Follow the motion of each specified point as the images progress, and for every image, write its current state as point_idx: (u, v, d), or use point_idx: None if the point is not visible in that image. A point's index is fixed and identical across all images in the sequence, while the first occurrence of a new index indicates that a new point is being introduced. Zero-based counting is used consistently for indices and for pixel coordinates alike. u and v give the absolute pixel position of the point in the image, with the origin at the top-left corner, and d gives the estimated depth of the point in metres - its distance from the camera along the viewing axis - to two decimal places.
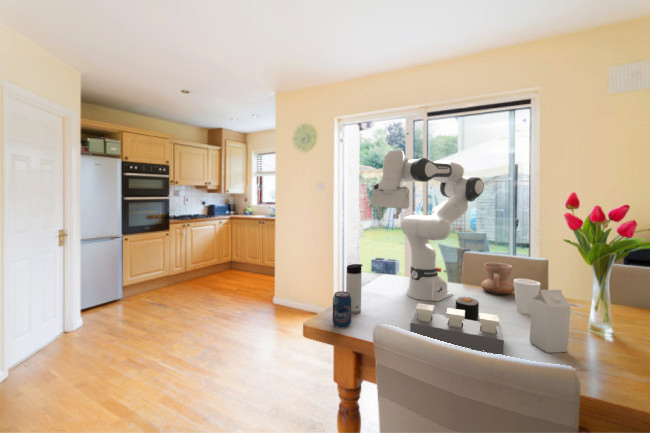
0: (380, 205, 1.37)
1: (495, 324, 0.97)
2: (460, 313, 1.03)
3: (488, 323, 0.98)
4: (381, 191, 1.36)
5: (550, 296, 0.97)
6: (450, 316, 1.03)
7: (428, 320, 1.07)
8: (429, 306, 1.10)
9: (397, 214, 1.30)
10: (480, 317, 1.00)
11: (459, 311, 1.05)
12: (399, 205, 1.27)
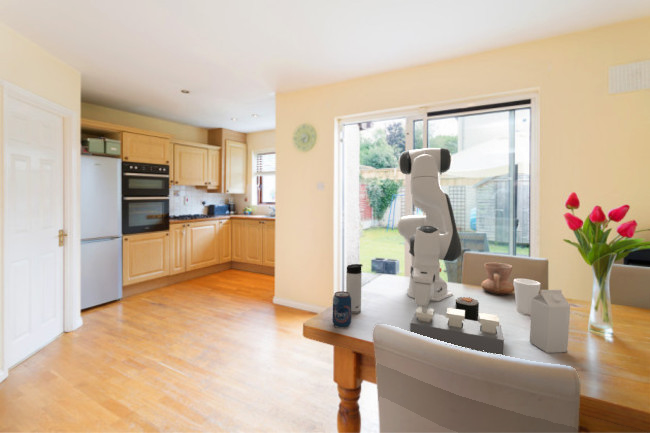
0: None
1: (495, 324, 0.97)
2: (460, 313, 1.03)
3: (488, 323, 0.98)
4: None
5: (550, 296, 0.97)
6: (450, 316, 1.03)
7: None
8: (429, 310, 1.10)
9: None
10: (480, 317, 1.00)
11: (459, 311, 1.05)
12: (433, 290, 1.15)
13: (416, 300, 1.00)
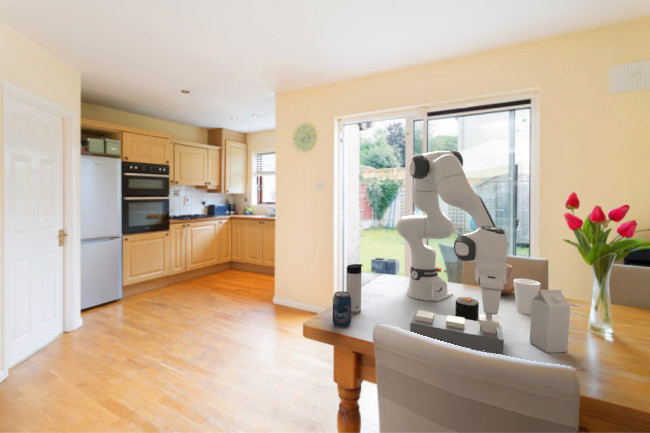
0: None
1: (495, 325, 0.97)
2: (459, 321, 1.03)
3: (488, 324, 0.98)
4: None
5: (550, 296, 0.97)
6: (450, 324, 1.03)
7: None
8: (429, 313, 1.10)
9: None
10: (480, 318, 1.00)
11: (458, 318, 1.05)
12: None
13: (485, 307, 0.91)
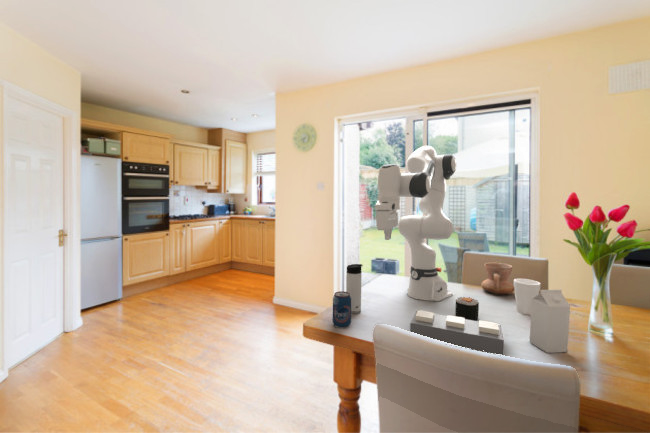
0: (390, 227, 1.19)
1: (495, 332, 0.97)
2: (459, 321, 1.03)
3: (488, 331, 0.98)
4: None
5: (550, 296, 0.97)
6: (450, 324, 1.03)
7: None
8: (429, 313, 1.10)
9: None
10: (480, 325, 1.00)
11: (458, 318, 1.05)
12: (397, 224, 1.29)
13: (377, 225, 1.14)
